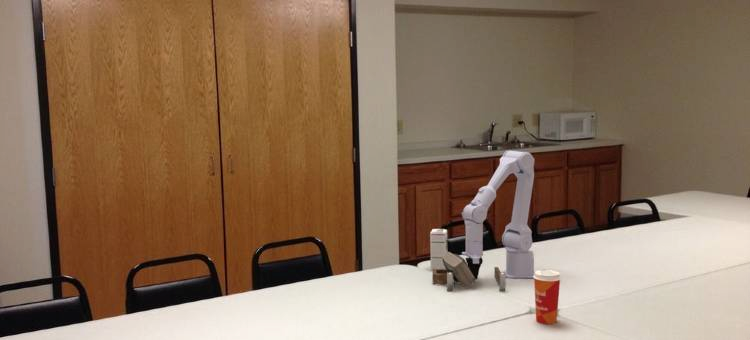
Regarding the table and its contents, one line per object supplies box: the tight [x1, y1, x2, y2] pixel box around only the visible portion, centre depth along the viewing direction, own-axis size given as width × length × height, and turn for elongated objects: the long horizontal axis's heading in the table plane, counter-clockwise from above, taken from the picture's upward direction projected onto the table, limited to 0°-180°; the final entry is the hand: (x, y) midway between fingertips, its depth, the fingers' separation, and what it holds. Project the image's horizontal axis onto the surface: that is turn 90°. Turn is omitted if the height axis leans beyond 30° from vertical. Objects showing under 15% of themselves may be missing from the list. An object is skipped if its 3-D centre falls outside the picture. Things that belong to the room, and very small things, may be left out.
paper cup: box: [532, 269, 562, 325], centre depth 191 cm, size 8×8×14 cm
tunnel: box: [432, 266, 501, 287], centre depth 232 cm, size 23×12×4 cm, turn 87°
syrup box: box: [429, 228, 448, 272], centre depth 248 cm, size 6×6×14 cm
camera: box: [442, 251, 477, 289], centre depth 227 cm, size 11×6×10 cm
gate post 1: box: [446, 272, 454, 292], centre depth 222 cm, size 2×2×6 cm
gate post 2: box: [498, 271, 507, 293], centre depth 221 cm, size 2×2×6 cm
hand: (473, 279), depth 230 cm, fingers closed
